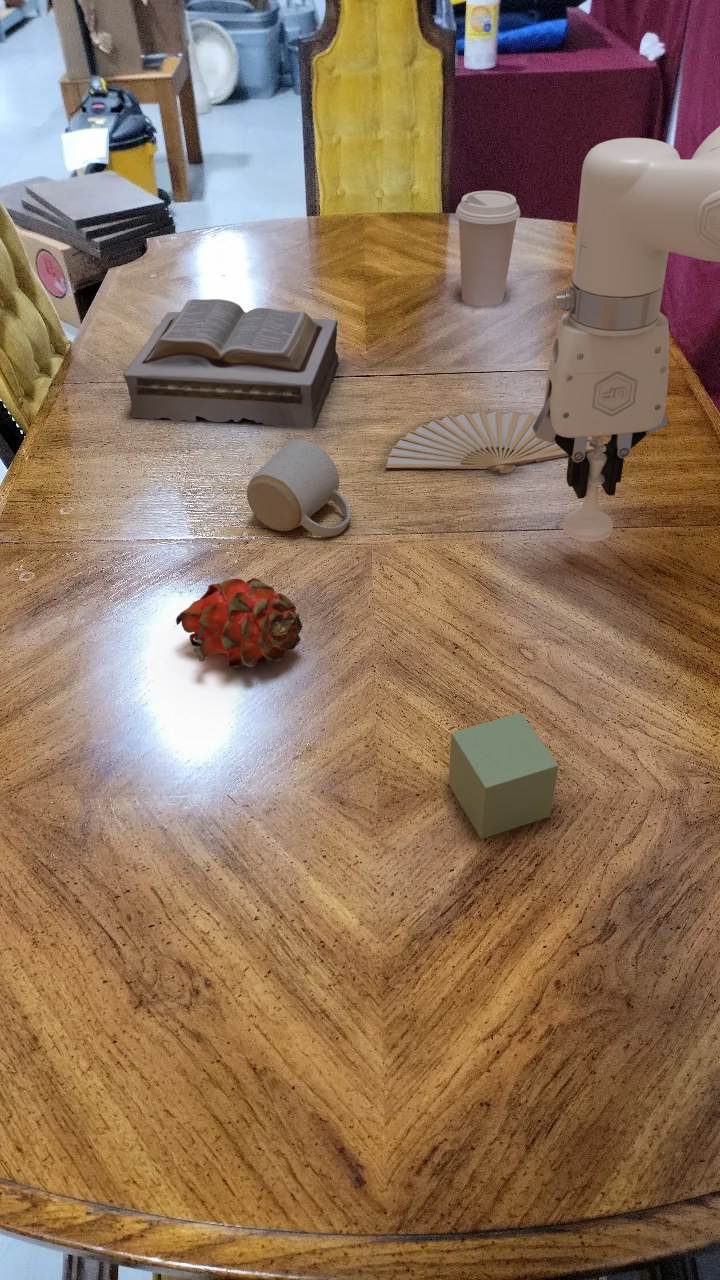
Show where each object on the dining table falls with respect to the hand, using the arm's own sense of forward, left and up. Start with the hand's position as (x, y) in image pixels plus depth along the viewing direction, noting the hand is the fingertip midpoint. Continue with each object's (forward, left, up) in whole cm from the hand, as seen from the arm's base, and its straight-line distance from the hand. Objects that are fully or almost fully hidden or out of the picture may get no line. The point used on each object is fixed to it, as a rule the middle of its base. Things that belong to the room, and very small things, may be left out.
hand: (592, 488), depth 96 cm
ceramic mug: (+28, -12, -9) cm, 32 cm away
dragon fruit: (+35, +10, -9) cm, 37 cm away
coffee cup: (-3, -70, -9) cm, 71 cm away
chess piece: (0, 0, -5) cm, 5 cm away
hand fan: (+5, -25, -9) cm, 27 cm away
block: (+15, +30, -9) cm, 34 cm away
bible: (+35, -44, -9) cm, 57 cm away
